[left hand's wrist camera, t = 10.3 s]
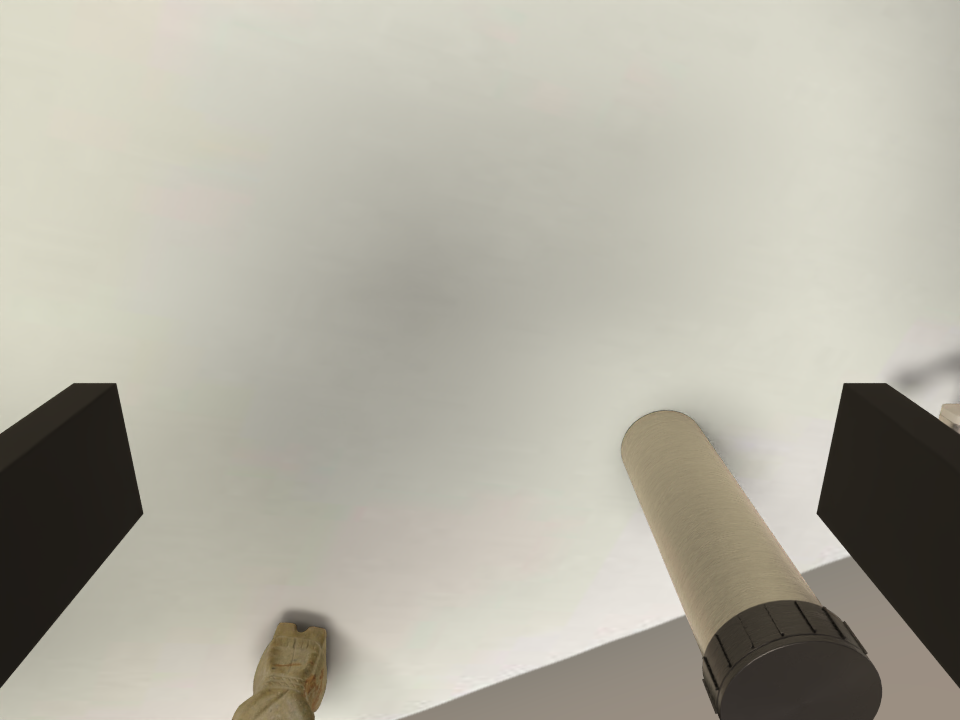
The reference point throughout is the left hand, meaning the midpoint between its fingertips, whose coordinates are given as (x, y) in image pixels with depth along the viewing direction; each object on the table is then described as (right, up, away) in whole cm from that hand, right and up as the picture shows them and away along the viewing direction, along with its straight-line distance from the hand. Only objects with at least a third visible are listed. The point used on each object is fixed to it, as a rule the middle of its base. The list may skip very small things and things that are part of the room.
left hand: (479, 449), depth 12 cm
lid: (+12, -11, +13) cm, 21 cm away
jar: (+12, -4, +32) cm, 34 cm away
